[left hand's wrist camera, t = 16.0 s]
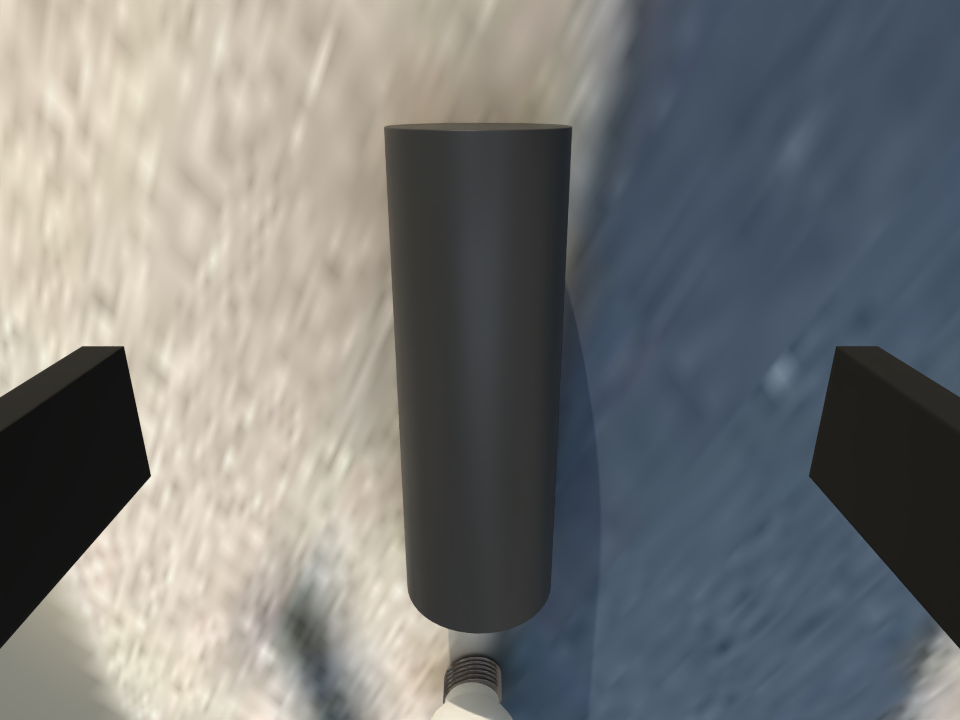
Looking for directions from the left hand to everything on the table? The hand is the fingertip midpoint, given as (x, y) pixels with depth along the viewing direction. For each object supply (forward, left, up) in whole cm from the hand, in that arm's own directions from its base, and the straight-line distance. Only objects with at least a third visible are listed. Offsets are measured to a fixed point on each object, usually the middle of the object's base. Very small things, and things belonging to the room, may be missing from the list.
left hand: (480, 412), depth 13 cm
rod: (+7, +4, -25) cm, 27 cm away
